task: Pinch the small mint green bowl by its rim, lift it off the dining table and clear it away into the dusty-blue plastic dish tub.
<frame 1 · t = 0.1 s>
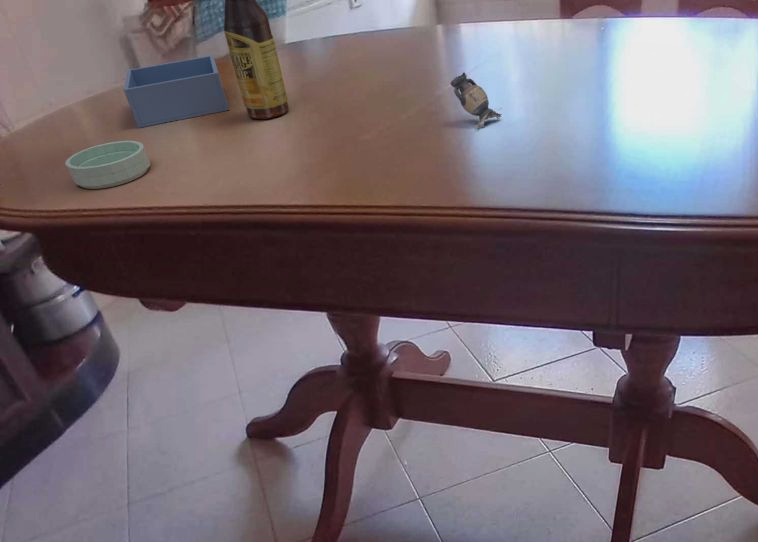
sauce bottle: (270, 115, 103), on the table
tub: (183, 107, 110), on the table
mint green bowl: (114, 175, 88), on the table
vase: (474, 123, 92), on the table
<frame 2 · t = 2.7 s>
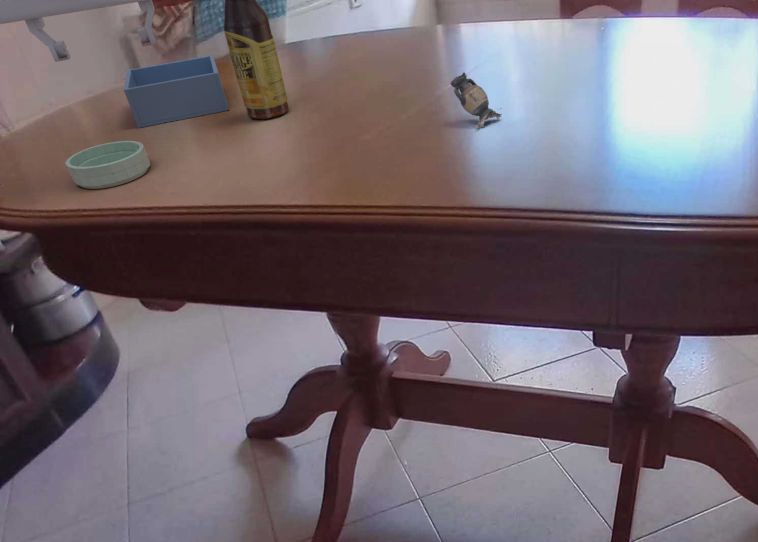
hand: (107, 52, 81), 14 cm above the table, tool pointing down, fingers open, 8 cm apart
nothing on the table moved.
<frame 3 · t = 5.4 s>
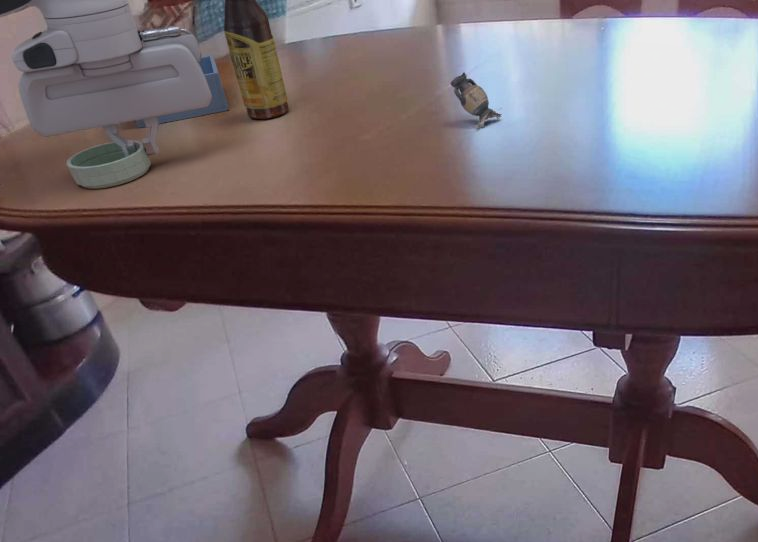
hand: (143, 155, 88), 2 cm above the table, tool pointing down, fingers closed on mint green bowl
mint green bowl: (115, 175, 88), on the table, touching gripper
everything else where it was.
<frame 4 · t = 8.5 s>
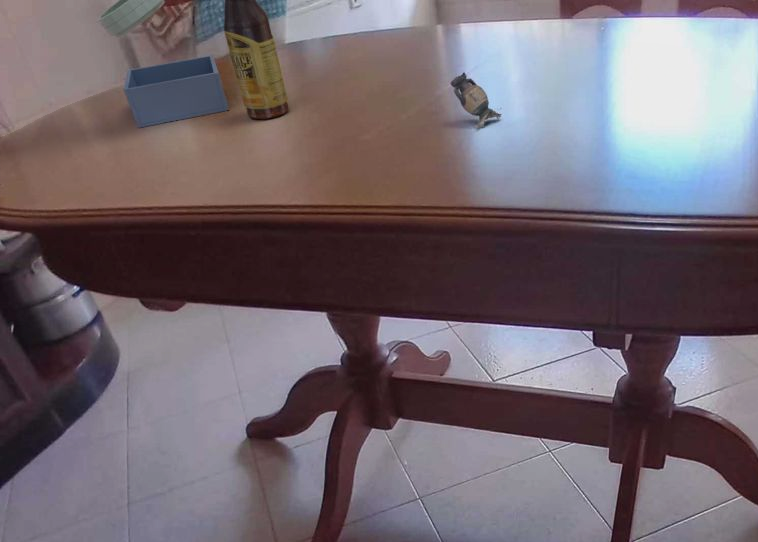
mint green bowl: (140, 19, 95), point 14 cm above the table, tilted 23°, touching gripper
everything else where it was.
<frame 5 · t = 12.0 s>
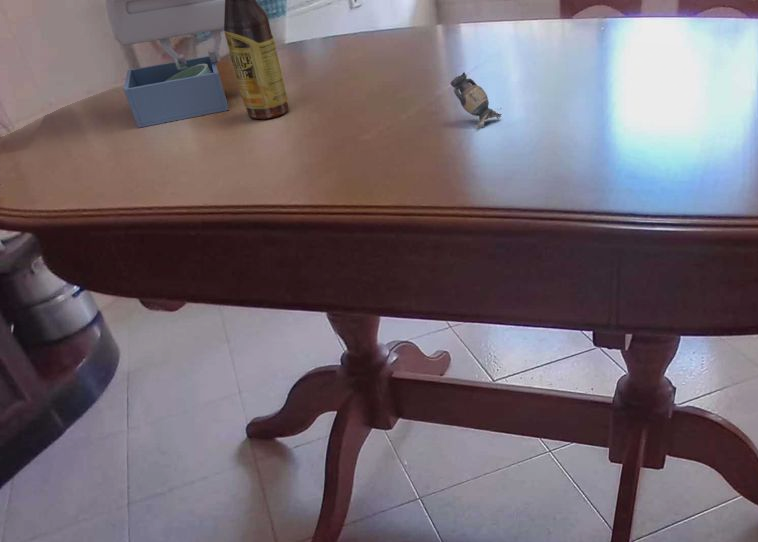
hand: (199, 65, 108), 6 cm above the table, tool pointing down, fingers open, 4 cm apart
mint green bowl: (191, 95, 109), point 2 cm above the table, tilted 16°, touching tub
everything else where it was.
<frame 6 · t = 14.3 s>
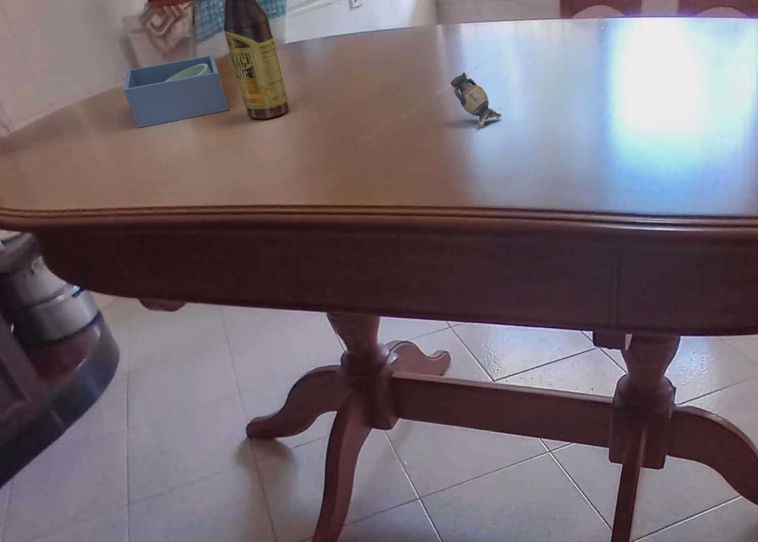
nothing on the table moved.
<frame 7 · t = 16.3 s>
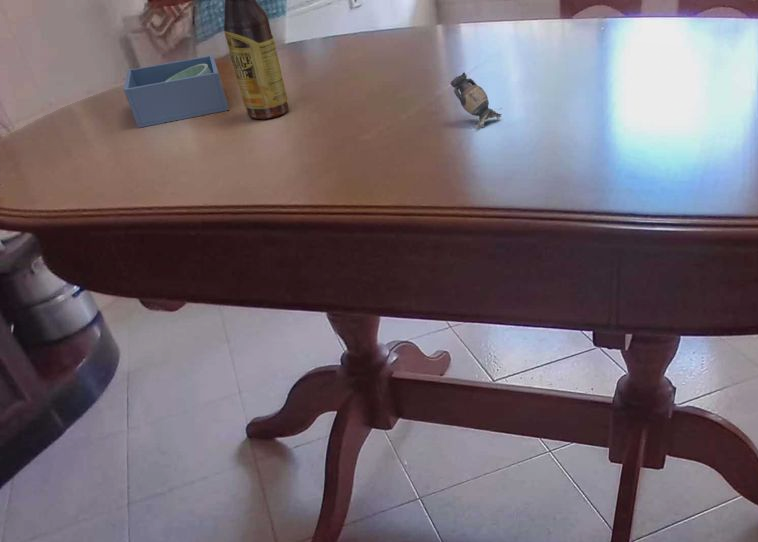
nothing on the table moved.
at the end: mint green bowl inside the target area in the tub (1.8 cm from its centre), point 1.6 cm above the tub's base; the gripper is holding nothing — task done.
